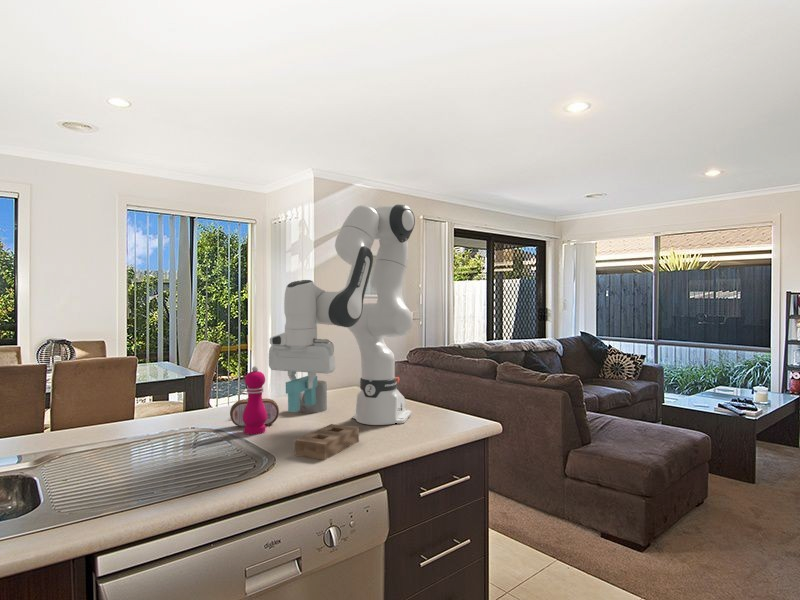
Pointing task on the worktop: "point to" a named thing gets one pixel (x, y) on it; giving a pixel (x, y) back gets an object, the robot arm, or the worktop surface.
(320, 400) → the coffee mug
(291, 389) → the clip
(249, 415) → the pepper mill
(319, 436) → the slotted wooden block
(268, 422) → the tin
